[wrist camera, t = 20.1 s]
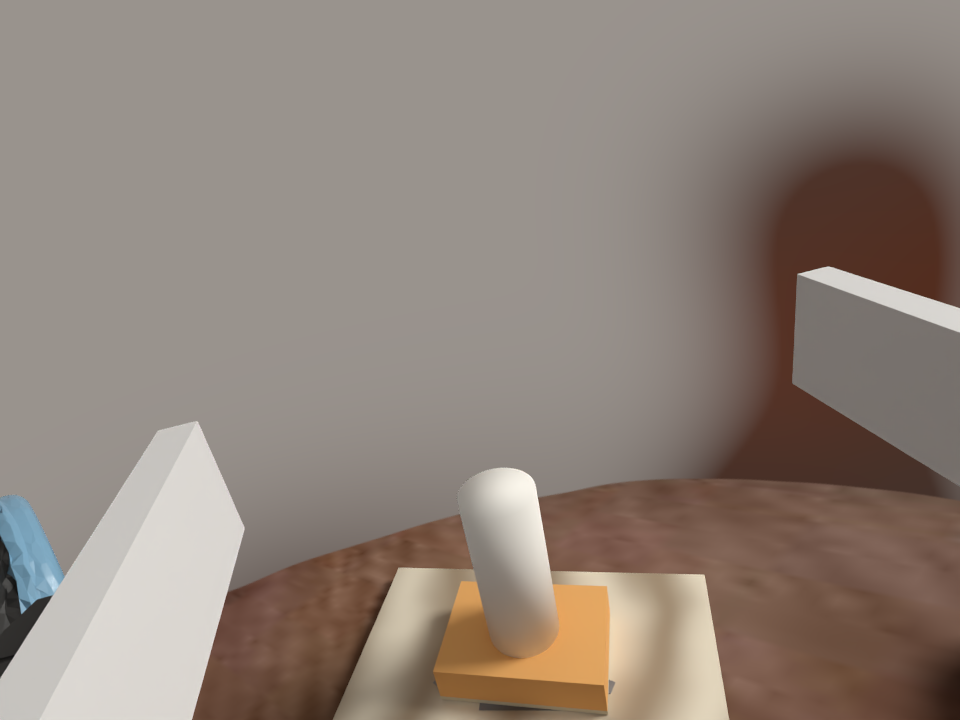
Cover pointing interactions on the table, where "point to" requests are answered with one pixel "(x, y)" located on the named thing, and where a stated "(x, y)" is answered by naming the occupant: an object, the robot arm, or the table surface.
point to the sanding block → (520, 611)
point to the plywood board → (631, 708)
